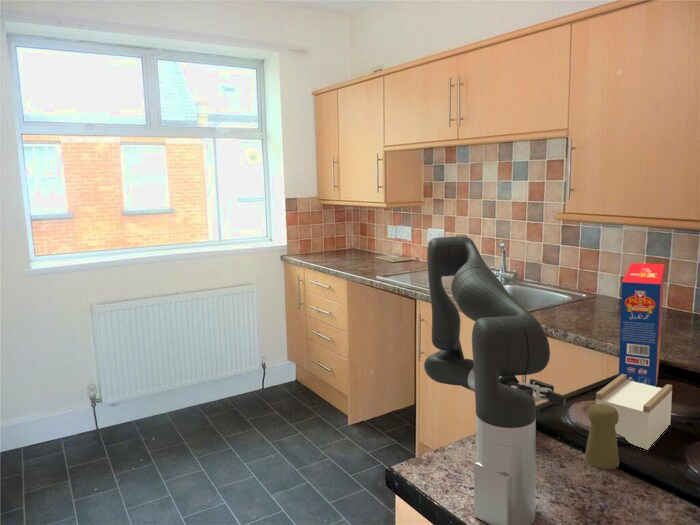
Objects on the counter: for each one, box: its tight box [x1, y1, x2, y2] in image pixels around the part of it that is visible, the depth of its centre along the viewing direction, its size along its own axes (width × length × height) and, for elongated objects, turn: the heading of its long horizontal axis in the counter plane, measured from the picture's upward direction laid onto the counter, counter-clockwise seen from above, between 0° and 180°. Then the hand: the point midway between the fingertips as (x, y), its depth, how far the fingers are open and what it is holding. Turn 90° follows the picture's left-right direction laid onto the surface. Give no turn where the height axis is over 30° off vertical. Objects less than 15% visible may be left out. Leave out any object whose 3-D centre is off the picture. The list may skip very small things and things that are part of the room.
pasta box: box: [618, 262, 665, 387], centre depth 134 cm, size 28×8×28 cm, turn 147°
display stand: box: [595, 374, 673, 451], centre depth 107 cm, size 14×10×9 cm
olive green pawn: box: [584, 403, 620, 470], centre depth 97 cm, size 6×6×11 cm
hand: (551, 407), depth 106 cm, fingers open, 8 cm apart
